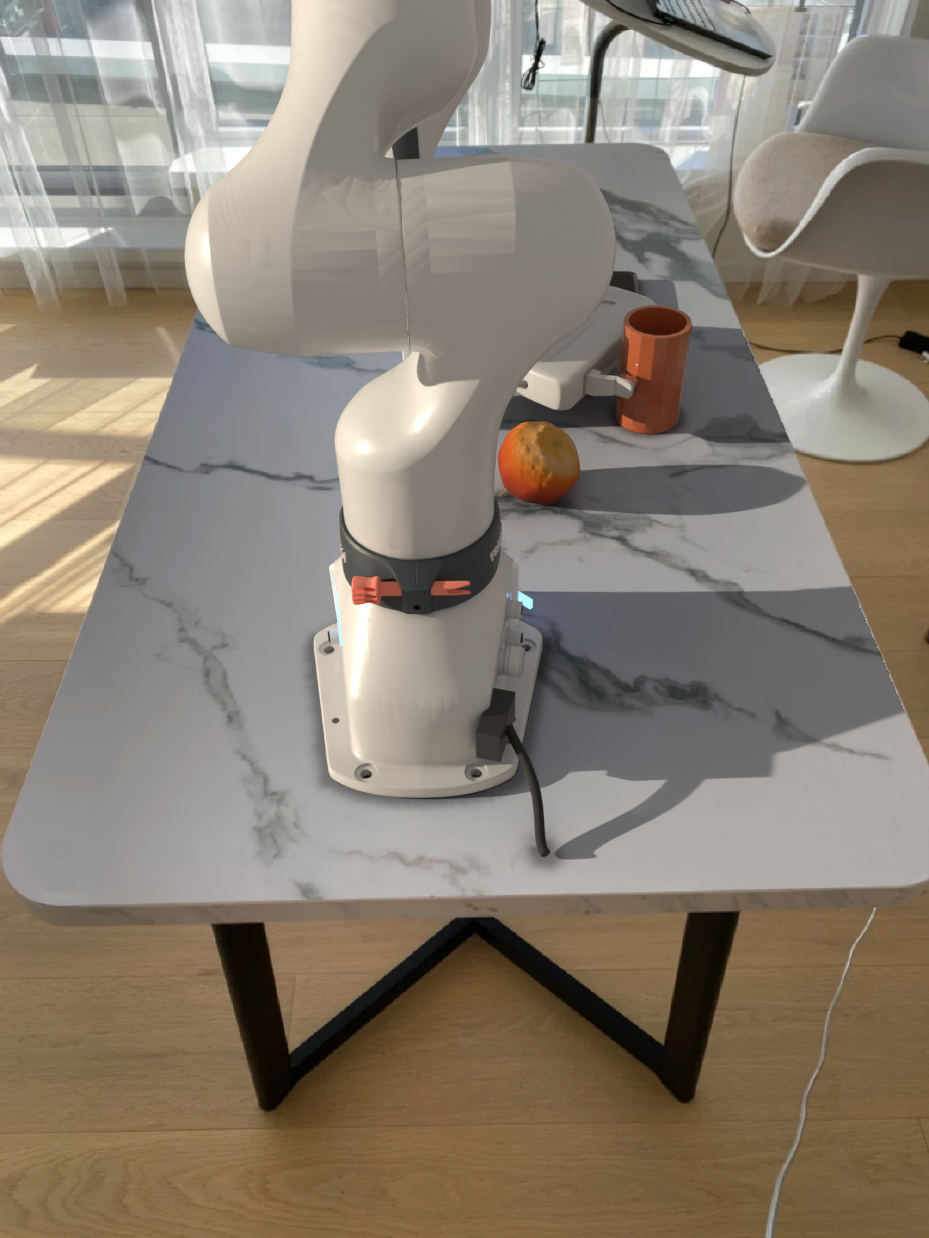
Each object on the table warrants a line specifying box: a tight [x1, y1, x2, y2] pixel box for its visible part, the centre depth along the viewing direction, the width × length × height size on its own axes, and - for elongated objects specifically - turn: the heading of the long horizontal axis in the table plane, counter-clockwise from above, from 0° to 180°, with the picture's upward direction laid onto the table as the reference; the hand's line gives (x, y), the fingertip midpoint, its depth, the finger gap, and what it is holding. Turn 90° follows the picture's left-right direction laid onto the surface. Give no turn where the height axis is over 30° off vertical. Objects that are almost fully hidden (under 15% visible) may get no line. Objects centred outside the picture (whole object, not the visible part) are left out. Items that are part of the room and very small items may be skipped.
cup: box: [615, 304, 693, 435], centre depth 107 cm, size 7×7×11 cm
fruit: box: [497, 421, 581, 507], centre depth 100 cm, size 8×8×8 cm
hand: (656, 368), depth 106 cm, fingers open, 8 cm apart
